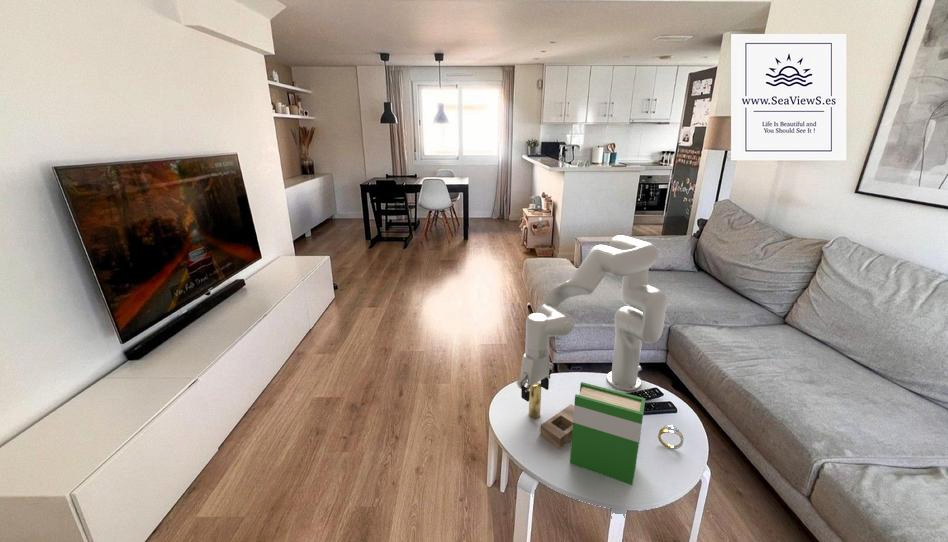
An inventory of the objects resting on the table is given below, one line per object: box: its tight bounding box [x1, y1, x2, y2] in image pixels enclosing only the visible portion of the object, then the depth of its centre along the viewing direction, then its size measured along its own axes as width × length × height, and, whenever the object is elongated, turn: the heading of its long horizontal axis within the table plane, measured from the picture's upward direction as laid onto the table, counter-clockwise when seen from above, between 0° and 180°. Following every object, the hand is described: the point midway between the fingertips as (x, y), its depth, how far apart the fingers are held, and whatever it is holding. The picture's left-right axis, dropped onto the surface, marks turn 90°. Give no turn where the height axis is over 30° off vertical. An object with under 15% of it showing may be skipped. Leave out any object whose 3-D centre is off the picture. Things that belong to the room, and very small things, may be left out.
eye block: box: [539, 404, 574, 450], centre depth 132 cm, size 16×8×4 cm, turn 130°
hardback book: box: [569, 381, 646, 486], centre depth 114 cm, size 18×7×24 cm, turn 63°
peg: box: [528, 382, 542, 419], centre depth 138 cm, size 4×4×12 cm
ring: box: [657, 424, 685, 450], centre depth 123 cm, size 7×3×8 cm, turn 57°
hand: (535, 393), depth 137 cm, fingers open, 9 cm apart
